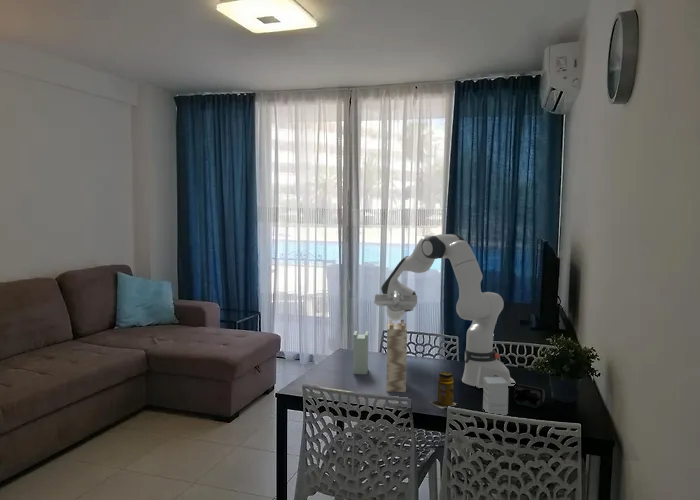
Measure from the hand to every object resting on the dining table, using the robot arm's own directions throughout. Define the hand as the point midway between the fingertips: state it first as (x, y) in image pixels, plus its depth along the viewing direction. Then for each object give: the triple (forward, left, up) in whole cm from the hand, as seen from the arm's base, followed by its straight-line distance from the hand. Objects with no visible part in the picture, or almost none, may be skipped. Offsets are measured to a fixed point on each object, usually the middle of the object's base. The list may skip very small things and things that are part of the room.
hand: (396, 294), depth 245 cm
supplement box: (-36, +52, -36) cm, 73 cm away
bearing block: (0, +26, -35) cm, 44 cm away
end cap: (-51, +41, -36) cm, 75 cm away
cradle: (+16, +6, -35) cm, 39 cm away
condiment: (-18, +44, -36) cm, 60 cm away
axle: (0, +6, -2) cm, 7 cm away
